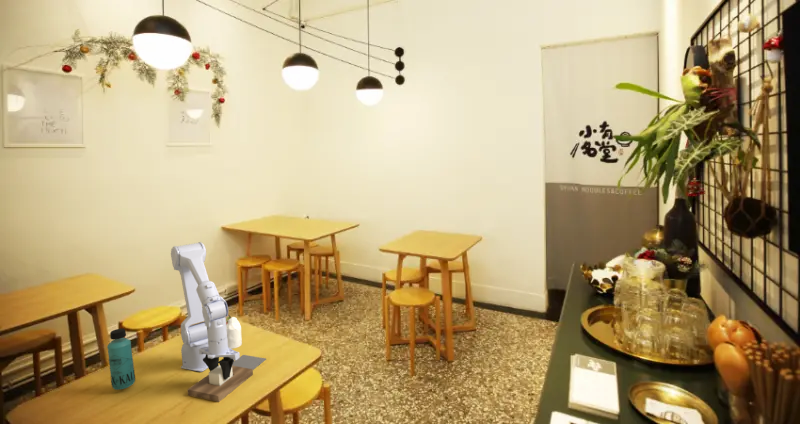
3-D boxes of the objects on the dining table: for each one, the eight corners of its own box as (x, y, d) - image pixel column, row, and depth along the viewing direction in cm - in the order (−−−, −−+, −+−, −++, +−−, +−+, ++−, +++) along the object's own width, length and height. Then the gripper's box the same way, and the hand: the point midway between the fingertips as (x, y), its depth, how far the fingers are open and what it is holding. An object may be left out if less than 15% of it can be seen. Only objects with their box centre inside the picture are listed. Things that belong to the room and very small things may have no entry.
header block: (187, 395, 129) (187, 389, 129) (224, 369, 144) (223, 364, 144) (219, 401, 125) (218, 395, 125) (252, 374, 140) (252, 369, 140)
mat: (228, 366, 146) (228, 365, 146) (243, 355, 153) (243, 354, 153) (251, 370, 143) (251, 369, 143) (266, 359, 150) (266, 358, 150)
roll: (233, 312, 164) (243, 314, 161) (235, 340, 166) (245, 343, 163) (220, 318, 158) (231, 320, 156) (223, 347, 160) (233, 350, 158)
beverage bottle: (114, 385, 135) (107, 328, 132) (138, 381, 137) (131, 324, 134) (109, 396, 129) (101, 336, 126) (134, 391, 132) (127, 332, 128)
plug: (210, 388, 132) (208, 372, 131) (223, 378, 138) (222, 363, 137) (220, 390, 131) (218, 374, 130) (233, 380, 137) (231, 365, 136)
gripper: (189, 340, 131) (193, 379, 133) (227, 346, 126) (230, 387, 128) (206, 330, 137) (210, 368, 139) (242, 336, 133) (245, 375, 135)
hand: (221, 376), depth 134 cm, fingers closed on plug, 4 cm apart
